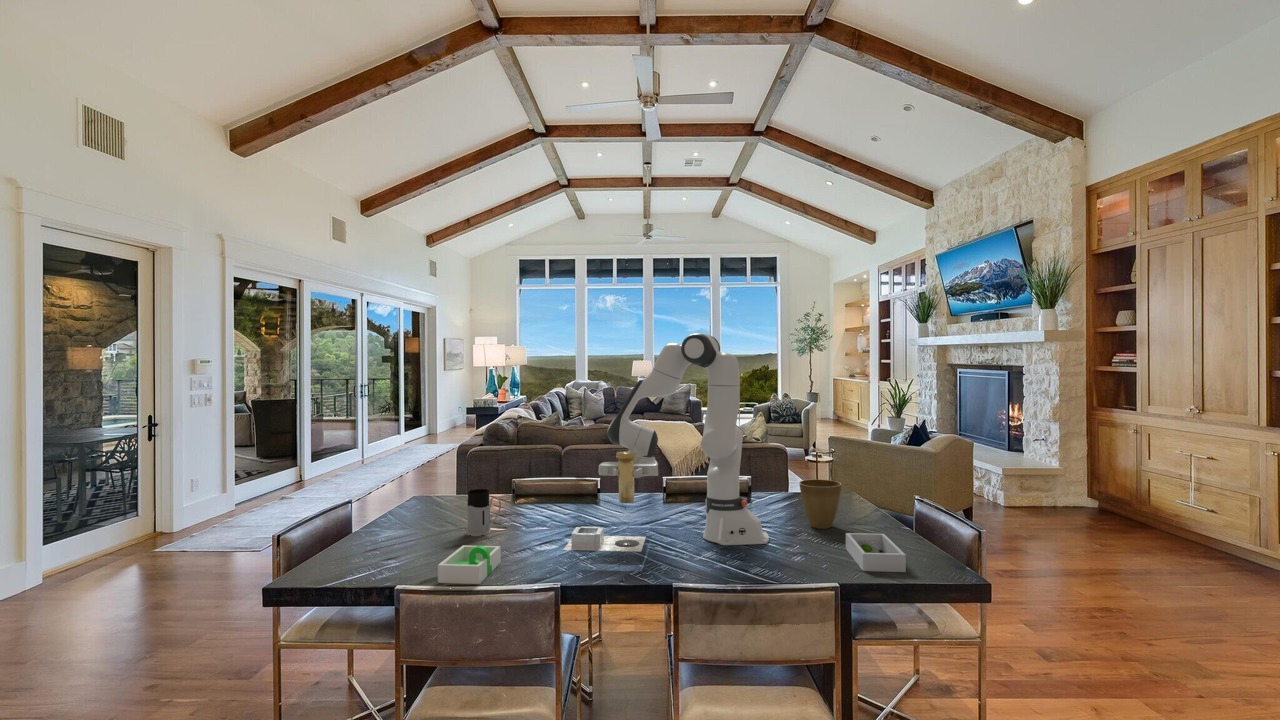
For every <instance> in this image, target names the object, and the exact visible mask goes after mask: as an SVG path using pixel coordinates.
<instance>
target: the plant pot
mask: <svg viewBox="0 0 1280 720" xmlns="http://www.w3.org/2000/svg"><path fill="white" fill-rule="evenodd" d="M798 482H799V490H800V495H801V501H802V504H803V507H804V512H805V514H806V518H807V520H808V523H809V525H810V527H812V528H815V529H820V530H821V529H830V527H831V528H832V526H833V524H834V521H835V517H836V514H837V512H838V507H839V503H840V499H841V498H840V497H841V491H842V482H839V481H836V480H830V479H817V478H815V479H803V480H801V481H798Z"/></svg>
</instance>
